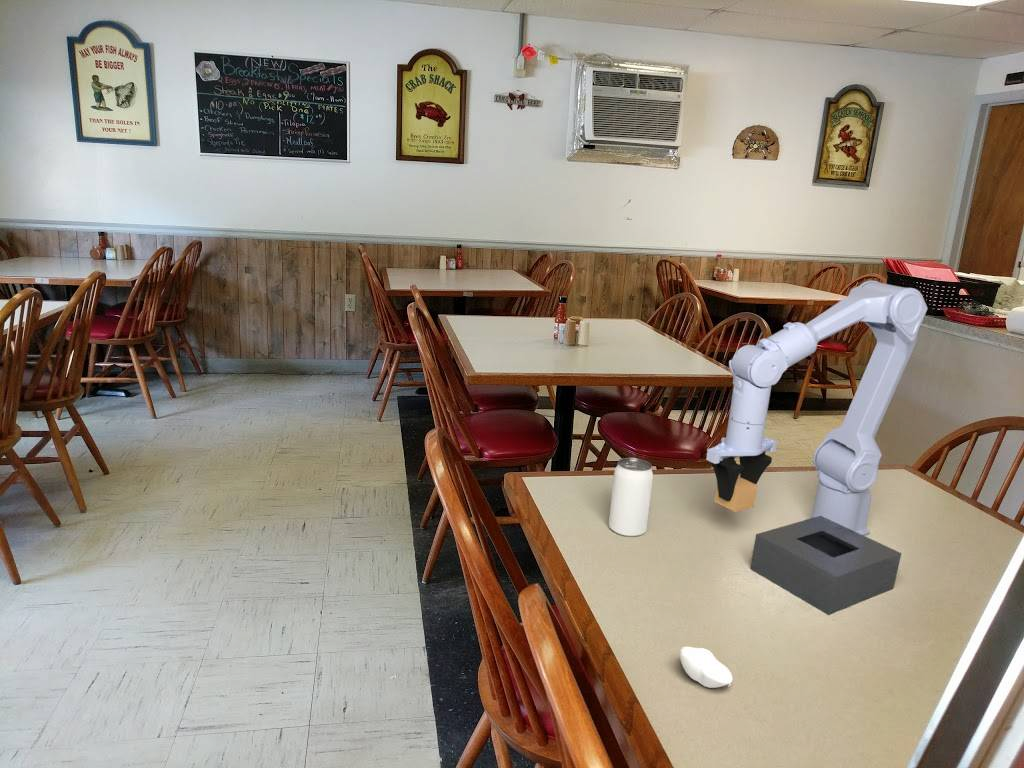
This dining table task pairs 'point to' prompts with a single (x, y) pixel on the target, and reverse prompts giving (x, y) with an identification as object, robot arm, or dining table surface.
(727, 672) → the dumpling
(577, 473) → the dining table surface
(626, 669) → the dining table surface
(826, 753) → the dining table surface
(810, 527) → the grey box with hole
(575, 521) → the dining table surface
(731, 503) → the block
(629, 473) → the can
